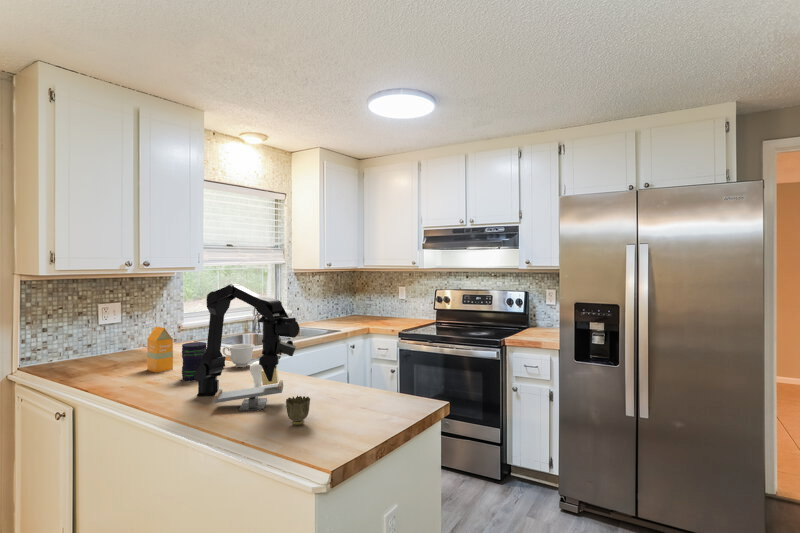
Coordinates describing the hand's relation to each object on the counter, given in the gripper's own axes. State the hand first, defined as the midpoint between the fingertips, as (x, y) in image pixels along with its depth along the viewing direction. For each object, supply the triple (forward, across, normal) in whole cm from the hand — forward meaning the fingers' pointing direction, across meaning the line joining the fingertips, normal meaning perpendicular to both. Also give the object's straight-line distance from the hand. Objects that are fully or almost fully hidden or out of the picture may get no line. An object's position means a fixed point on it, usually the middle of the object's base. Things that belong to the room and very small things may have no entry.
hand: (270, 379), depth 156 cm
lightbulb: (+9, +21, +7) cm, 24 cm away
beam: (+5, 0, +6) cm, 8 cm away
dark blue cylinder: (+9, +43, +36) cm, 57 cm away
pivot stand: (+9, 0, +6) cm, 11 cm away
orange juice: (+9, +63, +56) cm, 85 cm away
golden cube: (+1, 0, 0) cm, 1 cm away
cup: (+9, -22, -10) cm, 26 cm away
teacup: (+9, +63, +21) cm, 67 cm away
